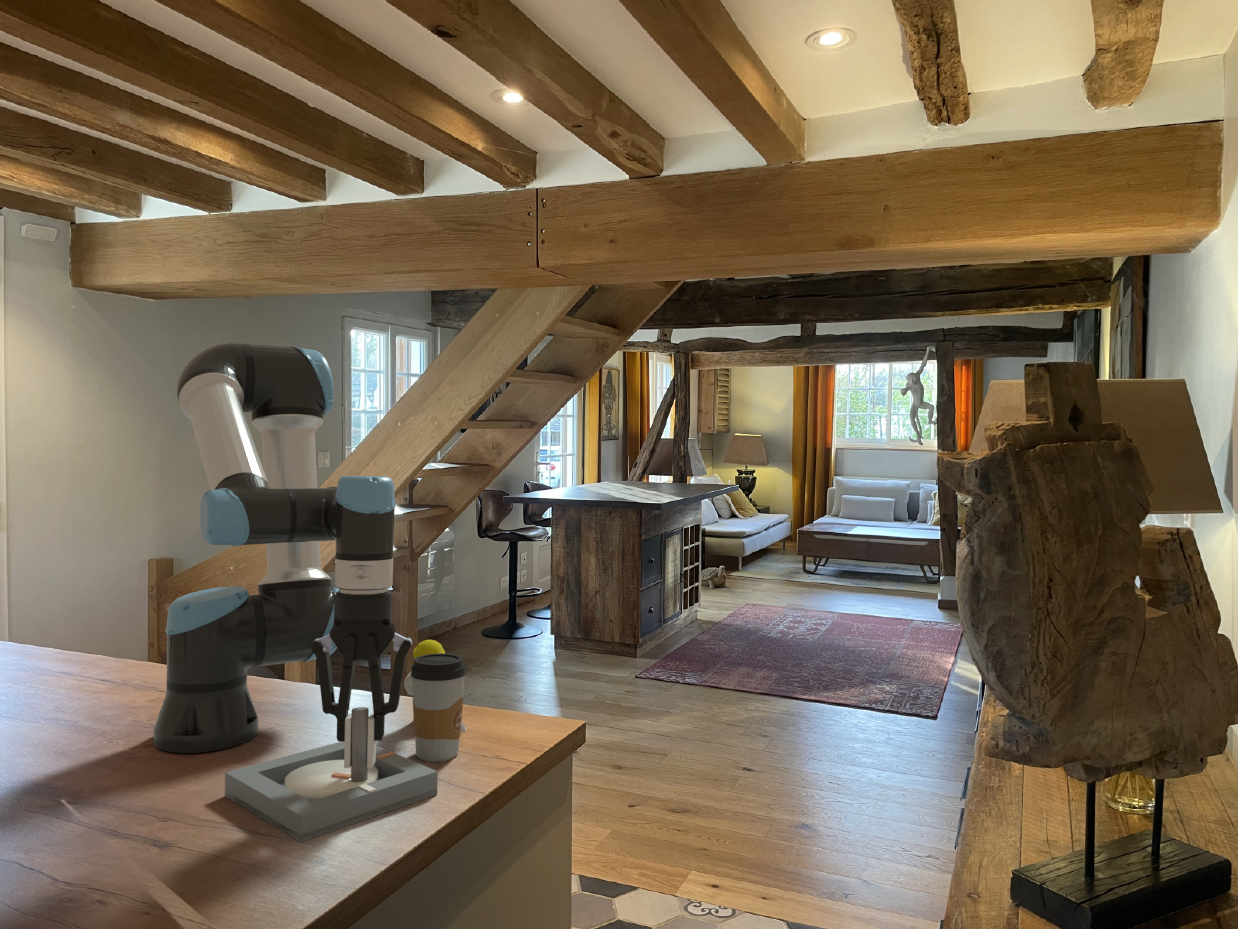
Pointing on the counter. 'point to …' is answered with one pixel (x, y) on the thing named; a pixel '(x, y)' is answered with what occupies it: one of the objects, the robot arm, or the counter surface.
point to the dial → (337, 766)
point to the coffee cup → (437, 705)
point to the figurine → (425, 649)
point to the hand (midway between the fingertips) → (359, 764)
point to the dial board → (308, 819)
